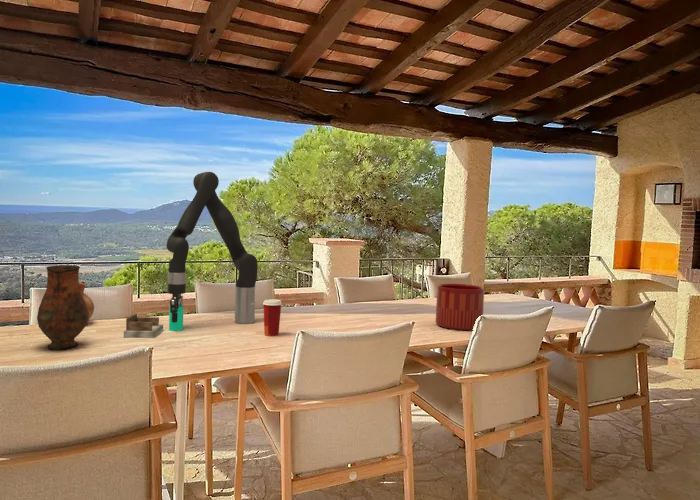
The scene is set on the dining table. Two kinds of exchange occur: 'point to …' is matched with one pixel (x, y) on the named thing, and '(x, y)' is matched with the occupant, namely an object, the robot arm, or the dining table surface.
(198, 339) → the dining table surface
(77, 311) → the pitcher
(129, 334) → the dock
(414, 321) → the dining table surface
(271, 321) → the coffee cup
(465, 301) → the planter
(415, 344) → the dining table surface
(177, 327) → the candle
